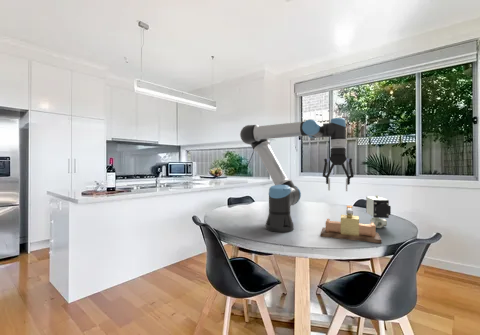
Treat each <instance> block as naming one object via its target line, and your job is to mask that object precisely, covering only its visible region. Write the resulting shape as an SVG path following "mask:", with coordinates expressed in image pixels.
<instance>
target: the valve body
mask: <svg viewBox="0 0 480 335" xmlns="http://www.w3.org/2000/svg"><path fill="white" fill-rule="evenodd" d="M325 228H326V232H338V233H341V234H342V235H352V236H359V235H367V236H372V237H375V236H376V233H377V232H376V227H375V225H374V223H371V222H370V223H360V216H359V215H354V214H353V215H348V214H340V221H337V220H331V219H330V218H326V221H325Z"/></svg>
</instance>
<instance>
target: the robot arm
mask: <svg viewBox="0 0 480 335" xmlns="http://www.w3.org/2000/svg"><path fill="white" fill-rule="evenodd" d="M346 135H347V121H346V119H345V118H344V117H334V118H331V119H330V122H327V123H320V122H318V121H317V120H316V119H307V120H305V121H295V122H285V123H274V124H268V125H265V124H264V125H259V124H248V125H245V126H243V127H242V128H241V130H240V134H239V136H240V139H241V141H242V142H243V143H244V144H246V145H250V146H251V148H252V150H253V151H254V152H256V153H257V155H258V156H259V157H260V160H261V161H262V163H263V166H264V167H265V169H266V170H267V172H268V175H269V176H270V178H271V180H272V182H273V185H272V186H270V187H269V189H268V216H267V219H266V222H265V229H266V230H268V231H270V232H275V233H286V232H287V233H288V232H293V231H294V230H295V229H294V228H295V226H294V222H293V219H292V216H291V206H294V205H296V204H297V203H298V202H300V200H301V196H302V193H301V190H300V188H299V187H298V186H297V185H295V184H294V182H293V181H292V179H290V178H288V177H287V174H286V173H285V172H284V170H283V169H284V168H282V166H281V164H280V162H279V160H278V159H277V157H276V155H275V153H274V151H273V149H272V148H271V146H270V144H271V141H270V139H281V138H282V139H283V138H293V137H295V138H296V137H308V138H310V139H317V138H330V150H329V151H330V153H329V154H330V156H329V158H324V159H323V160H324V165H323V166H324V167H323V170H322V171H323V172H322V177H323V178H325V183H326V185H327V186H328V187H327V188H328V189H327V190H328V191H331V178H330V175H331V173H332V171H333V168H334V167H335V166H341V167H342V169H343V171H344V174H345V176H346V178H345V192H348V186H349V185H350V184H351V179H352V178H354V177H355V176H354V169H353V164H352V163H353V159H352V158H350V157H349V158H348V157H347V156H346V155H347V154H346V151H347V150H346V147H347V146H346V145H347V136H346ZM329 162H331V166H330V168H329V170H328V171H327V167H328V163H329ZM345 162H347V163H348V167H349V171H350V173H349V172H348V170H347V168H346V166H345V164H344V163H345Z"/></svg>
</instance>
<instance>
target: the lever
mask: <svg viewBox="0 0 480 335" xmlns="http://www.w3.org/2000/svg"><path fill="white" fill-rule="evenodd" d="M345 213H346V214H345V215H347V214H348V215H353V216H354V210H353V205H346V212H345Z"/></svg>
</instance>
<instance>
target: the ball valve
mask: <svg viewBox="0 0 480 335" xmlns="http://www.w3.org/2000/svg"><path fill="white" fill-rule="evenodd" d="M365 197H366V199H365V200H366V201H365V206H366V208H365V211H366V212H365V213H367V214H368V215H370V216H371V219H370V224H371V223H374V225H375V227H376V228H377V229H382V228H384V227H387V225H388V221H387V220H386V219H389V217H390V216H391V215H392V214H391V211H392V210H391V209H392V208H391V205H390V201H389V199H387V198H384V197H381V196H379V195H378V194H375V196H365Z"/></svg>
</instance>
